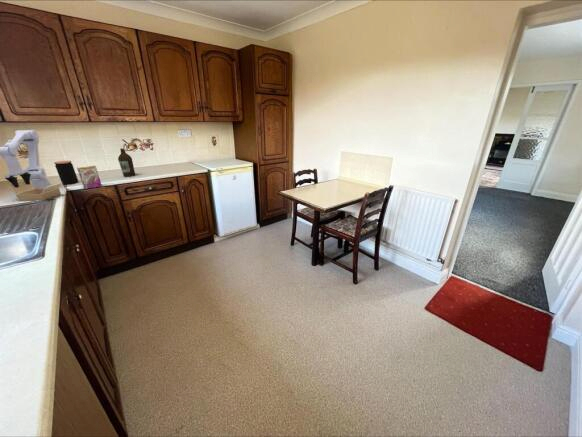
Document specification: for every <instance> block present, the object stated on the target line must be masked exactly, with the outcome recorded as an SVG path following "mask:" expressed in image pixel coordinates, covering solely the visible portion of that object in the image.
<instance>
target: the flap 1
mask: <svg viewBox="0 0 582 437" xmlns="http://www.w3.org/2000/svg"><path fill="white" fill-rule="evenodd" d="M18 185H19V187H14V185H13V184H12V183H11V184H10V185H8V186H9V187H10V188H11V190H12V191H13V193H14V194H15V195H16V194H20V193H23V192H26V191H30V190H33V189H34V186H33V185H32V183H31V181H30V184H29V185H26V183H25V181H24V180H23V181H20V182H18Z"/></svg>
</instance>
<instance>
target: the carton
mask: <svg viewBox="0 0 582 437" xmlns="http://www.w3.org/2000/svg"><path fill="white" fill-rule="evenodd" d="M43 190H44V189H30V190H27V191H24V192H20V193H17V194H15V195H16V198H17V200H18V202H37V201H36V200H44V201H47V200H50V199H52V198H55V197H57V196H58V197H59V196H60V194H61V195H62V193H61V191H60V187H59V188H58V189H55V190H51V191H48V192H45V193H42V192H43ZM49 198H50V199H49ZM46 199H47V200H46Z"/></svg>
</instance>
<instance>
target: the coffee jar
mask: <svg viewBox="0 0 582 437" xmlns="http://www.w3.org/2000/svg"><path fill="white" fill-rule="evenodd" d="M53 164H54V166H55V169H56V171H57V174H58V177H59V180H60V183H61V182H63V183H62V184H61V185H65V186H67V185H75V184H77V183H79V179H78V176H77V173H76V170H75V168H74V165H73V163H72V160H58V161H54V162H53Z"/></svg>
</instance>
